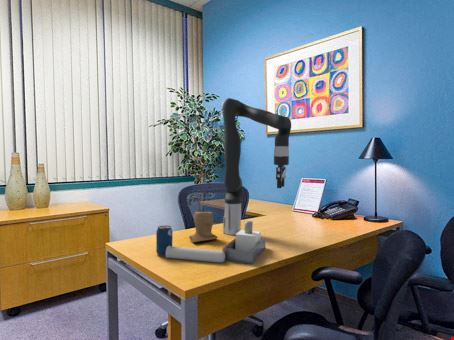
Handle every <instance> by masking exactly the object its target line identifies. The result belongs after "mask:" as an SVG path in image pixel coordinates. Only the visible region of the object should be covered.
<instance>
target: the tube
mask: <svg viewBox="0 0 454 340" xmlns="http://www.w3.org/2000/svg"><path fill="white" fill-rule="evenodd" d="M165 258H166V259H176V260H184V261H186V260H187V261H188V260H189V261H197V262H208V263H219V264H222V263H224V262H225V253H224V252H223V251H222V250H217V249H216V250H215V249H206V248H205V249H204V248H196V247H195V248H194V247H182V246H173V245H172V246H168V247H167V249H166V256H165Z"/></svg>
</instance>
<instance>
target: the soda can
mask: <svg viewBox="0 0 454 340" xmlns="http://www.w3.org/2000/svg"><path fill="white" fill-rule="evenodd" d="M155 232H156V239H155V240H156V241H155V242H156V243H155V244H156V245H155V249H156V250H155V252H156V254H157V255H158V256H159V257H160V256H161V257H166V249H167V247H168V246H172V247H173V233H174V232H173V229H172V226H171V225H158V226H157V229H156V231H155Z"/></svg>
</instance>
